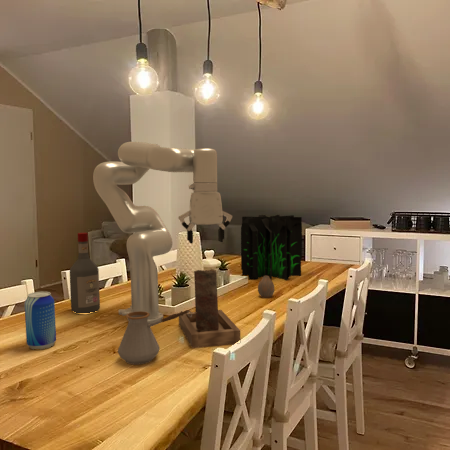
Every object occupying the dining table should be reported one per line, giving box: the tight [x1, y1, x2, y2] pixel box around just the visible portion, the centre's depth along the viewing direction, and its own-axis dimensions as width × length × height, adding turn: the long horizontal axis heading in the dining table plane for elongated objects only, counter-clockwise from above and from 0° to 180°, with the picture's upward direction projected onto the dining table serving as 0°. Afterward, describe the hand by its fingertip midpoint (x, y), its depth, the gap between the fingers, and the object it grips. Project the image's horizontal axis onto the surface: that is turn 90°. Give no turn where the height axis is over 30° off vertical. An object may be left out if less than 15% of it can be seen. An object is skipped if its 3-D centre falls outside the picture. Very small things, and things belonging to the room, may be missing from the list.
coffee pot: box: [117, 309, 192, 365], centre depth 134 cm, size 21×12×15 cm, turn 75°
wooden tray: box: [178, 309, 241, 349], centre depth 157 cm, size 15×24×4 cm, turn 14°
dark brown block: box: [193, 268, 219, 332], centre depth 156 cm, size 8×7×20 cm
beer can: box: [24, 291, 57, 350], centre depth 147 cm, size 8×8×16 cm
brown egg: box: [257, 276, 275, 299], centre depth 204 cm, size 7×7×9 cm
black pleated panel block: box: [240, 214, 303, 282], centre depth 247 cm, size 29×30×30 cm
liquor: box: [69, 232, 101, 314], centre depth 184 cm, size 9×9×30 cm
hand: (205, 242), depth 154 cm, fingers open, 9 cm apart
